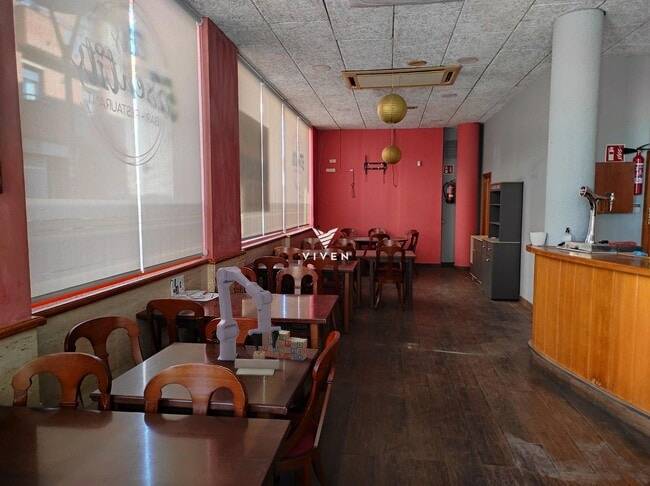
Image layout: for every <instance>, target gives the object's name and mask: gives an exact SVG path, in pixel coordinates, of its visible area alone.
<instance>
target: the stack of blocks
mask: <svg viewBox="0 0 650 486" xmlns="http://www.w3.org/2000/svg"><path fill="white" fill-rule="evenodd" d="M261 345H262V347H261V348H262V350H261V352H265V357H267V358H268V357H270V358H275V359H285V360H292V361H301V362H303V361H304V360H306V358H307V355H308V354H307V351H308V349H307V348H308V347H307V346H308V339H307V338H300V337H291V331H290V330H284V329H283V330H282V329H281V331H279V336H278V338H277V341H276V346H275V348H272V335H271V332H268V333H262V343H261Z"/></svg>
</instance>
